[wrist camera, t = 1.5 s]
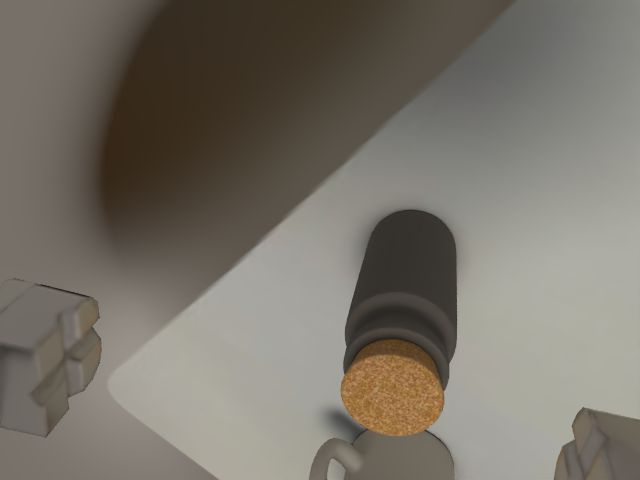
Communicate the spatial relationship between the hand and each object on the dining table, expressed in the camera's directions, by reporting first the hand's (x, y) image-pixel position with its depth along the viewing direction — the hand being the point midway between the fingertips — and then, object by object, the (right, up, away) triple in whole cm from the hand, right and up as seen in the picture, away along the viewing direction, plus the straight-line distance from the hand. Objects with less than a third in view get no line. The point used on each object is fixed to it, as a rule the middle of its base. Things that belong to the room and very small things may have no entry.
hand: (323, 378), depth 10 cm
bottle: (+6, +2, +31) cm, 31 cm away
